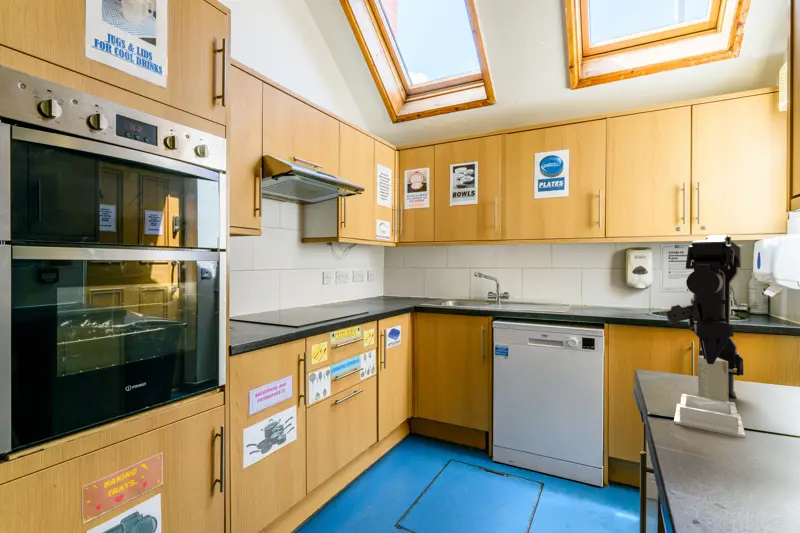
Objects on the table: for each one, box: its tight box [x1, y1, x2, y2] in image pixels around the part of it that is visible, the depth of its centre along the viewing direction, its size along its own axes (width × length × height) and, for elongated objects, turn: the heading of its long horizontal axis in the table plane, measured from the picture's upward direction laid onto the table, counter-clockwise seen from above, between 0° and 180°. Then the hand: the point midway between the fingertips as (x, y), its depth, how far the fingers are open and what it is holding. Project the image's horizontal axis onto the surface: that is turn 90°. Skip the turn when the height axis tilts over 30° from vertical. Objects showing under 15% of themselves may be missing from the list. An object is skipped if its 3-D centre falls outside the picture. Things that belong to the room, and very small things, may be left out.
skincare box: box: [697, 355, 730, 402], centre depth 98 cm, size 6×4×12 cm
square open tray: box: [673, 393, 746, 439], centre depth 89 cm, size 14×12×4 cm
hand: (708, 361), depth 90 cm, fingers open, 5 cm apart
